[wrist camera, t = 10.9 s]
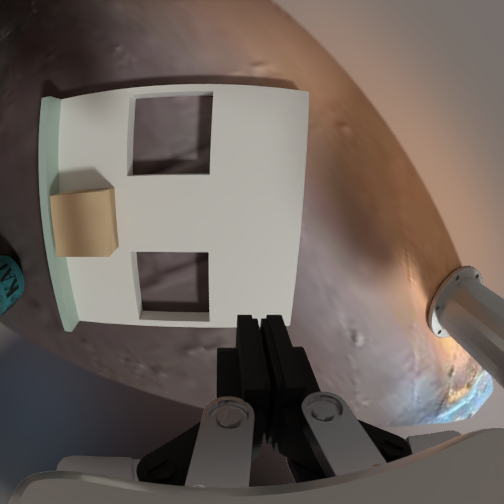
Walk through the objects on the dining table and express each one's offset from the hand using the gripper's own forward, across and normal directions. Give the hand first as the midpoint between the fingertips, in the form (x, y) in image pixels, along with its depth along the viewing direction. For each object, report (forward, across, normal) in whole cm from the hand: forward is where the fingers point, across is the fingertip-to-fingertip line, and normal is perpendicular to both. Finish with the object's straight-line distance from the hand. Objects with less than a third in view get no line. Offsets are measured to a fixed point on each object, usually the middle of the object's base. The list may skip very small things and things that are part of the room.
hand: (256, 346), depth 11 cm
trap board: (+20, +7, -2) cm, 21 cm away
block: (+18, +15, -1) cm, 23 cm away
